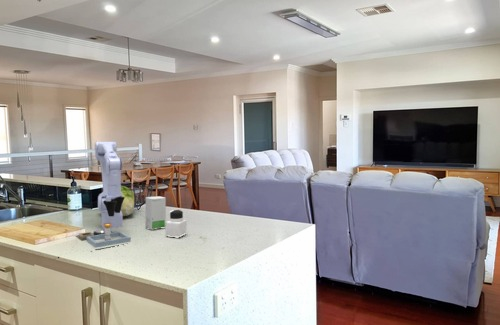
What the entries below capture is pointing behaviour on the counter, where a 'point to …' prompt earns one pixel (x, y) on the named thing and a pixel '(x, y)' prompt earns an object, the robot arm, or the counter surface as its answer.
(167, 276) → the counter surface
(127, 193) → the lettuce
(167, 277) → the counter surface
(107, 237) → the lock pin
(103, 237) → the tray
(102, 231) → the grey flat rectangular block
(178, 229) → the medicine bottle
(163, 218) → the skincare box
